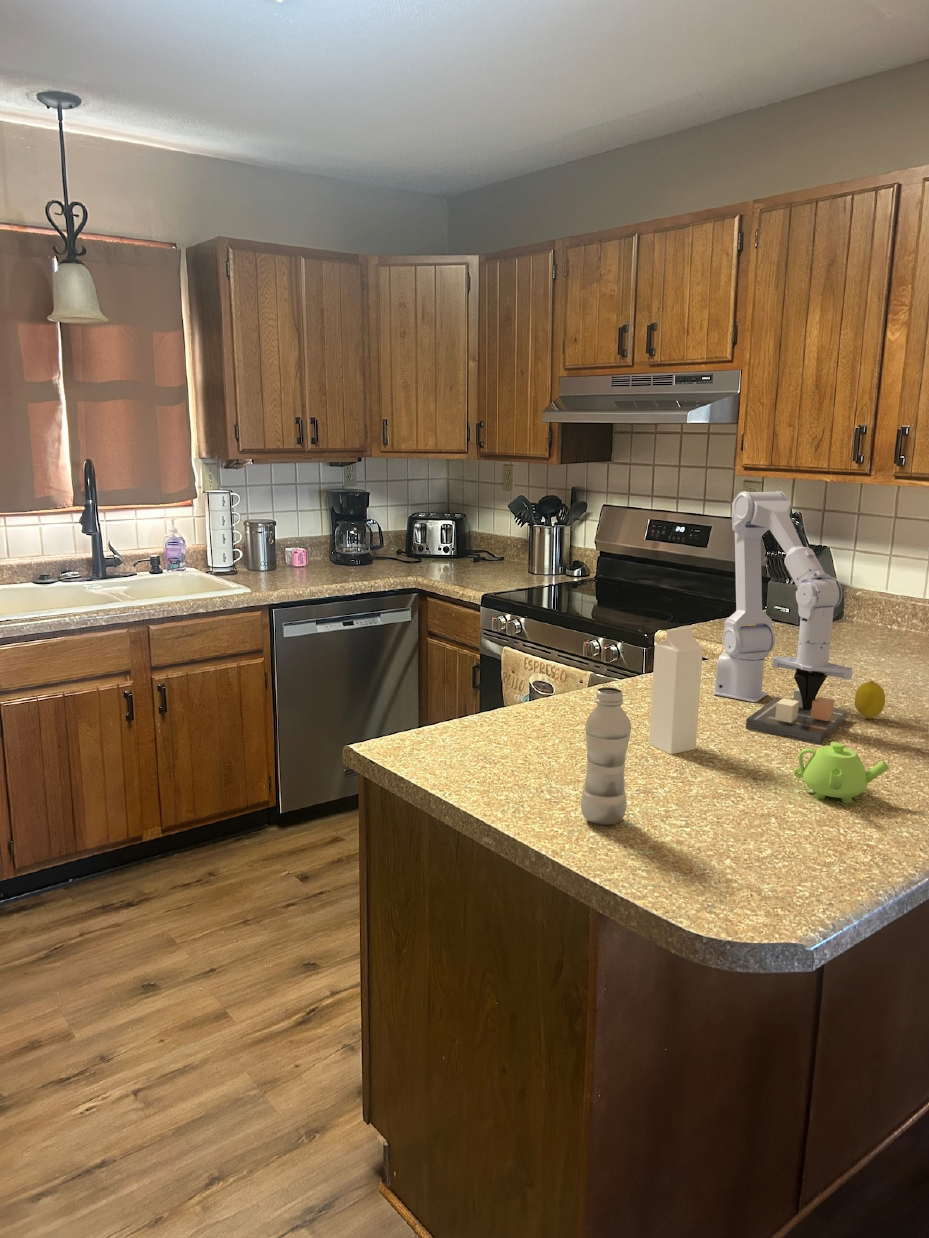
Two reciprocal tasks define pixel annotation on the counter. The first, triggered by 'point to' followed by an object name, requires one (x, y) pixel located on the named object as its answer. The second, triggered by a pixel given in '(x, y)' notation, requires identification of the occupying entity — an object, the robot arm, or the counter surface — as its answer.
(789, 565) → the robot arm
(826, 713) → the block
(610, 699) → the plastic bottle
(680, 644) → the milk
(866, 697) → the lemon
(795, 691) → the block
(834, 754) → the teapot
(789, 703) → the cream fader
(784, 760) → the counter surface
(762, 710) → the panel
